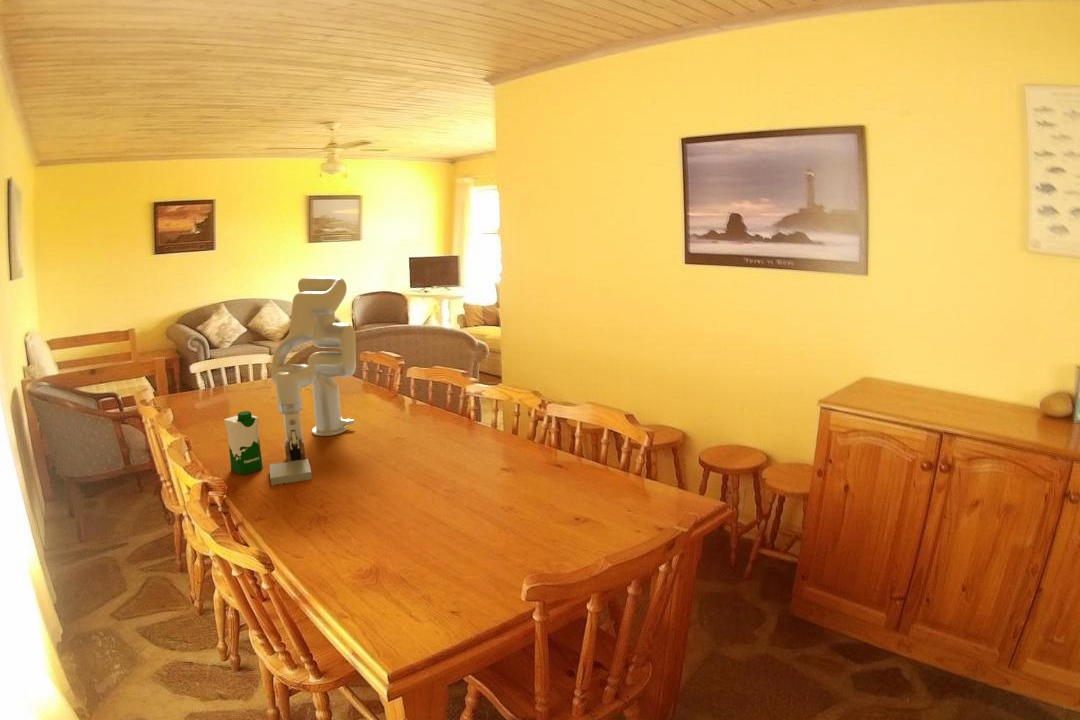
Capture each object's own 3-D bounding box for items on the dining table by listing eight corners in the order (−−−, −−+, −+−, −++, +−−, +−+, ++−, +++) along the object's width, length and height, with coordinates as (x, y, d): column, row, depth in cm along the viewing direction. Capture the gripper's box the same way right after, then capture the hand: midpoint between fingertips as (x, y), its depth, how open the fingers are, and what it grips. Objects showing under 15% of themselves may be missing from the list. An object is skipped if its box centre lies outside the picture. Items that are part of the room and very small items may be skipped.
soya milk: (242, 477, 204) (235, 417, 199) (226, 471, 209) (219, 413, 204) (267, 468, 211) (261, 411, 206) (251, 462, 216) (245, 406, 211)
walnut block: (304, 453, 222) (302, 437, 220) (305, 459, 217) (303, 443, 215) (285, 456, 220) (284, 439, 218) (286, 462, 214) (284, 445, 213)
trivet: (308, 466, 213) (308, 459, 212) (311, 479, 202) (311, 472, 202) (270, 471, 208) (269, 464, 208) (271, 485, 197) (270, 478, 197)
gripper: (303, 412, 207) (309, 463, 212) (300, 398, 223) (305, 445, 227) (279, 415, 204) (285, 467, 209) (277, 400, 220) (282, 449, 224)
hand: (295, 455), depth 218 cm, fingers closed on walnut block, 6 cm apart
